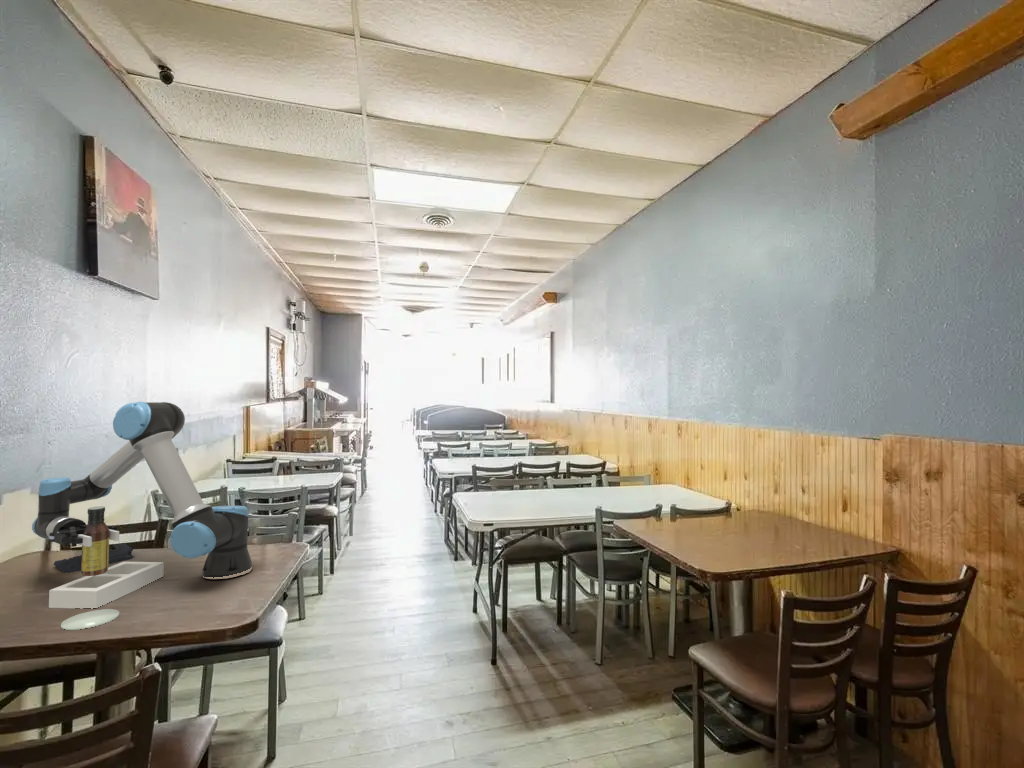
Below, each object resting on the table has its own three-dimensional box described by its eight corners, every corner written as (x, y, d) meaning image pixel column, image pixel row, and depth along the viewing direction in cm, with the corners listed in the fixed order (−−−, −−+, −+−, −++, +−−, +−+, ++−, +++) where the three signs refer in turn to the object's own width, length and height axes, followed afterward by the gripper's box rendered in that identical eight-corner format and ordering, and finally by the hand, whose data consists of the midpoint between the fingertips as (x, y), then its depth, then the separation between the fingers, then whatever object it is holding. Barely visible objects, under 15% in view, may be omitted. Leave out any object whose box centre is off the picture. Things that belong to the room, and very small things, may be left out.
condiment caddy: (163, 577, 166) (163, 562, 166) (95, 608, 140) (96, 591, 140) (123, 576, 166) (123, 561, 166) (48, 607, 141) (49, 590, 141)
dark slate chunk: (47, 568, 176) (48, 554, 176) (120, 552, 195) (121, 540, 195) (65, 575, 168) (66, 561, 168) (139, 558, 187) (140, 545, 187)
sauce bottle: (91, 570, 150) (94, 505, 151) (113, 570, 151) (116, 504, 152) (74, 577, 144) (77, 509, 145) (97, 577, 145) (100, 509, 145)
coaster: (130, 611, 139) (130, 609, 139) (92, 630, 127) (92, 628, 127) (89, 610, 139) (89, 608, 139) (47, 629, 127) (47, 627, 127)
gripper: (102, 534, 164) (140, 543, 154) (26, 549, 147) (62, 561, 137) (103, 512, 165) (141, 519, 154) (27, 524, 148) (63, 533, 137)
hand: (104, 539), depth 146 cm, fingers closed on sauce bottle, 6 cm apart
